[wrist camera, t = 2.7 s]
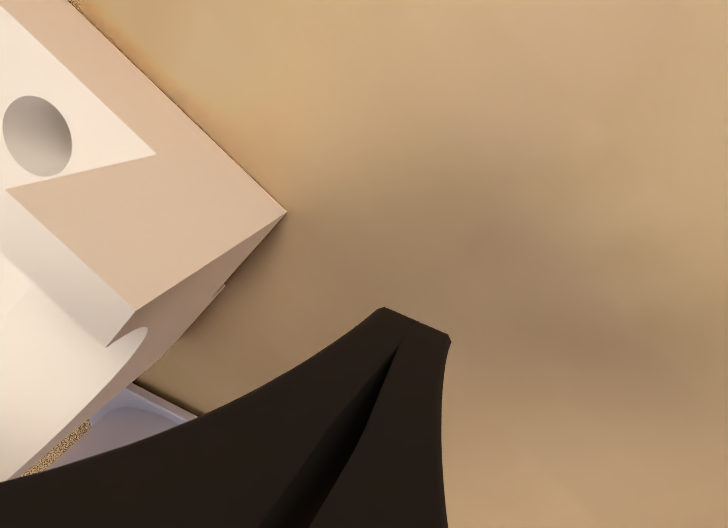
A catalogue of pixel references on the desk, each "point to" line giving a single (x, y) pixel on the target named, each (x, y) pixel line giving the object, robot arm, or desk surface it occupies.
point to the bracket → (99, 225)
